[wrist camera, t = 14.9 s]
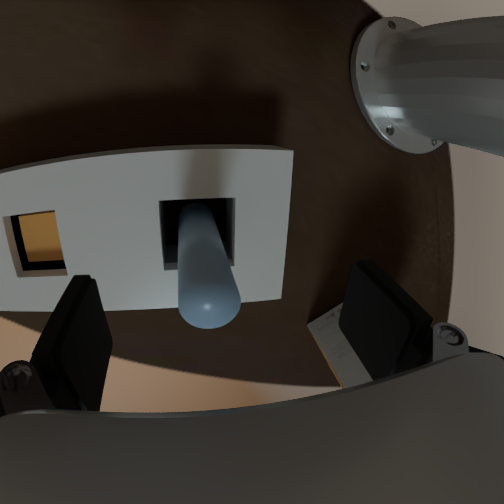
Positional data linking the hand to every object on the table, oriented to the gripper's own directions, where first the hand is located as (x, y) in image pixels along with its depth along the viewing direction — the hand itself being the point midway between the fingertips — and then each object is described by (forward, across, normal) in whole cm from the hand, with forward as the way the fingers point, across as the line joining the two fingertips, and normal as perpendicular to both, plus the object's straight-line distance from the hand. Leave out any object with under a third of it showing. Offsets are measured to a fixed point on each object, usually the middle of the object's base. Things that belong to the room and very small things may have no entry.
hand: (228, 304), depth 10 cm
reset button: (+11, +12, +1) cm, 16 cm away
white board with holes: (+12, +6, +1) cm, 13 cm away
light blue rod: (+12, +1, +1) cm, 12 cm away
